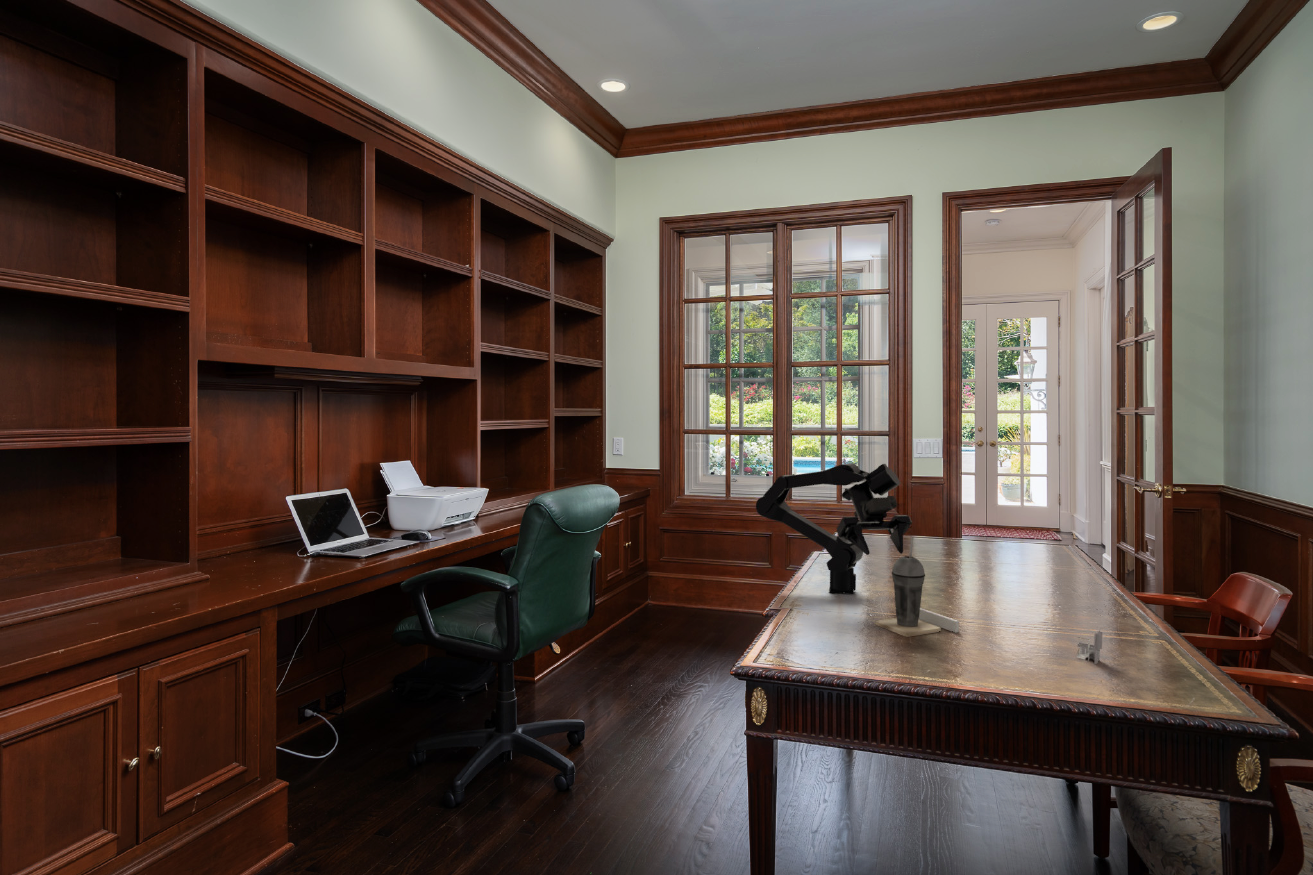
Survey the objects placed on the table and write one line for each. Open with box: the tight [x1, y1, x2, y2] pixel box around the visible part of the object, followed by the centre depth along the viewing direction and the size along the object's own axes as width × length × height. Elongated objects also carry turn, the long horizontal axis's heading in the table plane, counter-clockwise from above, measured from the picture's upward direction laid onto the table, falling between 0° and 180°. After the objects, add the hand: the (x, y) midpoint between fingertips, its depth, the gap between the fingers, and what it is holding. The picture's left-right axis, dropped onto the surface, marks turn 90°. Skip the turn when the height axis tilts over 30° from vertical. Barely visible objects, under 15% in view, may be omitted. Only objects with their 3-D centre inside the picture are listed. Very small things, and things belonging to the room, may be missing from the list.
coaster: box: [874, 617, 942, 638], centre depth 163 cm, size 10×10×1 cm
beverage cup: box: [891, 536, 926, 627], centre depth 163 cm, size 7×7×20 cm
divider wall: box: [919, 607, 960, 634], centre depth 166 cm, size 14×1×2 cm, turn 25°
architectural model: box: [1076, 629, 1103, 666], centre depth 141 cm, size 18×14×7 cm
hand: (885, 553), depth 180 cm, fingers open, 9 cm apart
